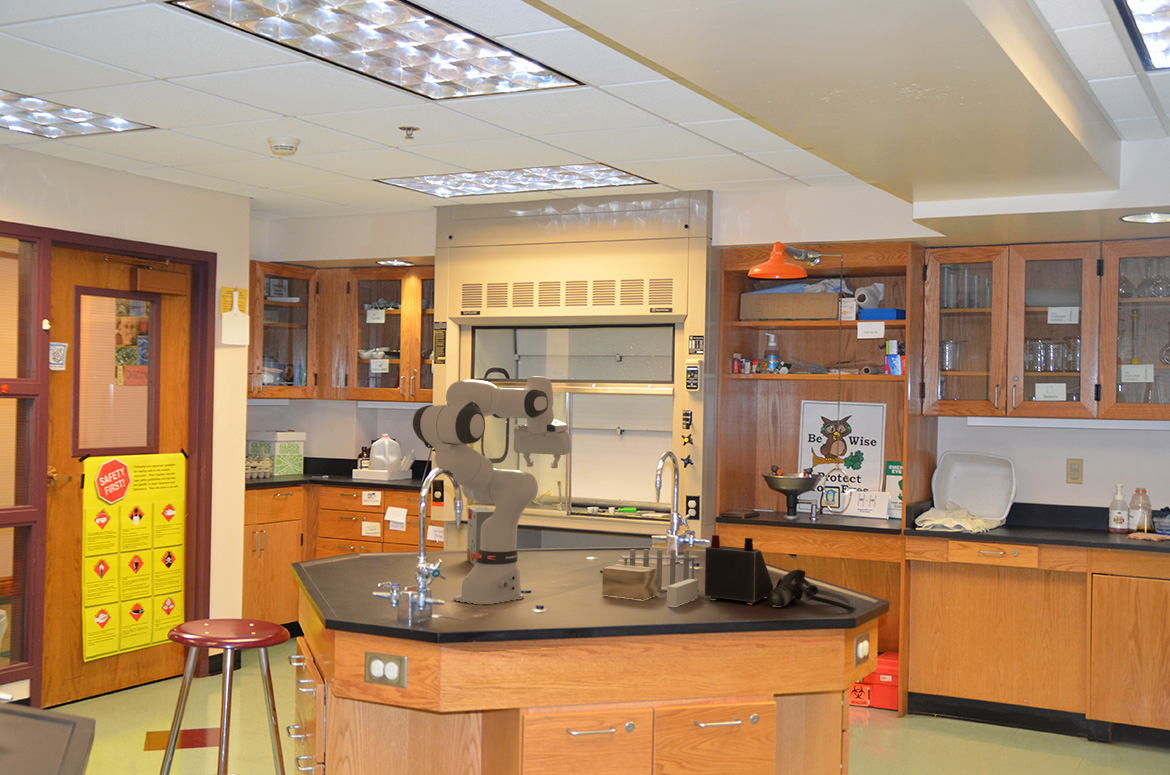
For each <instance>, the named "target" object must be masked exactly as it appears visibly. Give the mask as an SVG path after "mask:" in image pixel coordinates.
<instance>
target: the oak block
mask: <svg viewBox="0 0 1170 775" xmlns="http://www.w3.org/2000/svg"><path fill="white" fill-rule="evenodd" d="M601 585H602V587H601V588H602V590H601V592H602V593H601V596H602V595H608V596H617V597H625V598H633V599H641V600H644V599H647V598H650V597H653V596H656V595H657V596H658V592H657V567H651V566H649V567H643V566H641V565H640V566H639V565H635V566H633V565H630V564H627V565H625V564H624V563H623V564H622V563H616V564H615V563H614V564H612V565H609V566H605V567H602V583H601Z"/></svg>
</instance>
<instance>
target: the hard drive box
mask: <svg viewBox="0 0 1170 775" xmlns="http://www.w3.org/2000/svg"><path fill="white" fill-rule="evenodd" d="M494 511H495V510H493V509H491V508H489V507H487V506H472V507H471V506H469V507H467V541H466V542H467V545H466V548H467V549H466V554H467V555H466V560H467V561H468V562H470V563H471V564H472V565H473V567H474V566H475V565H476V563H477V561H476V560H477V559H472V556H473V555H472V553H478V552H479V550H480V542H481V525H482V523H483V522H484V521H485V520H486V519H488V518H489V517H491V516H492V515H493V514H494Z"/></svg>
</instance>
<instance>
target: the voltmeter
mask: <svg viewBox="0 0 1170 775" xmlns="http://www.w3.org/2000/svg"><path fill="white" fill-rule="evenodd" d="M710 542H711V544H710V546H707V547H706V546H705V557H704V560H705V561H704V564H705V567H704V596H705V597H709V599H710V598H711V599H717V598H719V599H726V600H727V599H728V600H736V601H743V602H744V601H745V603H746V602H747V603H755V602H757V601H761V600H763V599H762V598H764V597H767V596H768V593H769V592H771V591H772V590H774V585H773V581H772V579H771V578H772V577H771V576H770V573H769V570H768V567H767V563H766V561H765V559H764V556H763V553H762V550H760V549H756V548H754V544H753V538H752V537H746V538H744V546H743V547H735V546H722V545H721V541H720V535H718V534H711V541H710ZM717 600H718V599H717Z"/></svg>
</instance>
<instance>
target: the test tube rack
mask: <svg viewBox="0 0 1170 775" xmlns="http://www.w3.org/2000/svg"><path fill="white" fill-rule="evenodd" d="M676 550H677V549H670V551H669V553H670V554H669V555H663V551H664V550H663V549H656V555H650V550H649V549H643V555H636V549H630V550H629V555H620V558H621V559H623V561H624V565H628V559H629V565H633V566H636V560H641V559H643V560H642V561H643V567H650V566H649V565H650V564H649V563H650V561H649V560H652V559H653V560H655V559H656V568H657V591H667V586H662V583H663V560H664V559H665V560H666V559H669V586H670V585H673V584H675V583H676V564H677V562H676V561H677V559H678V560H679V559H681V560H683V567H682V568H683V569H682V570H683V576H682V578H683V580H682V581H684V580H687V579H695V559H696V560H697V559H699V557H698V556H697V555H692V554H691V555H690V550H689V549H685V548H684V549H683V555H677V551H676ZM690 560H691V572H689V571H690V570H689V568H690ZM689 573H691V576H690V574H689ZM689 577H691V578H689Z"/></svg>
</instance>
